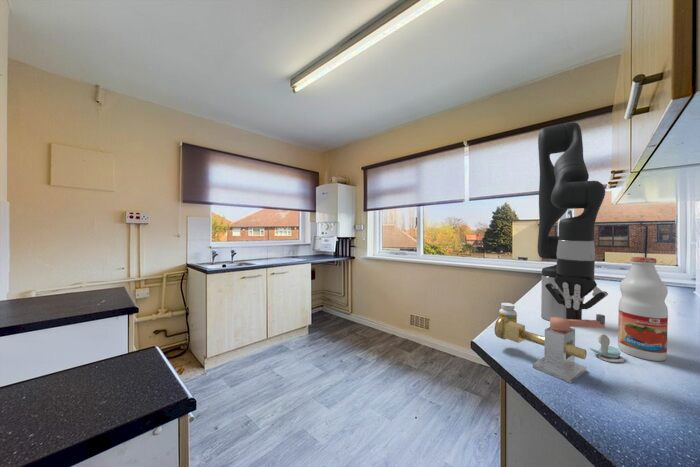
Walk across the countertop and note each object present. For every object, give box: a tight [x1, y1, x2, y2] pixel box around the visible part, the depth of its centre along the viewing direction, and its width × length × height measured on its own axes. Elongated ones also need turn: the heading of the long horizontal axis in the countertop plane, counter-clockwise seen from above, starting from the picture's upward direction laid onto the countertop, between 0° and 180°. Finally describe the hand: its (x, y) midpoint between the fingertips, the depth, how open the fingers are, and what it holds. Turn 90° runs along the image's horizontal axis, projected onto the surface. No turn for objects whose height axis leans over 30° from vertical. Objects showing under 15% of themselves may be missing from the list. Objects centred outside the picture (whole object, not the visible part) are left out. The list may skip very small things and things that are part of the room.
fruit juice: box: [617, 256, 669, 362], centre depth 74 cm, size 9×9×28 cm
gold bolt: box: [494, 316, 588, 360], centre depth 71 cm, size 6×20×6 cm, turn 31°
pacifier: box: [589, 333, 626, 363], centre depth 72 cm, size 7×6×6 cm
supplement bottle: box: [498, 302, 518, 323], centre depth 91 cm, size 5×5×10 cm
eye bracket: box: [532, 326, 588, 384], centre depth 66 cm, size 10×8×10 cm
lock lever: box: [549, 313, 606, 332], centre depth 66 cm, size 12×4×4 cm, turn 83°
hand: (573, 322), depth 68 cm, fingers closed
